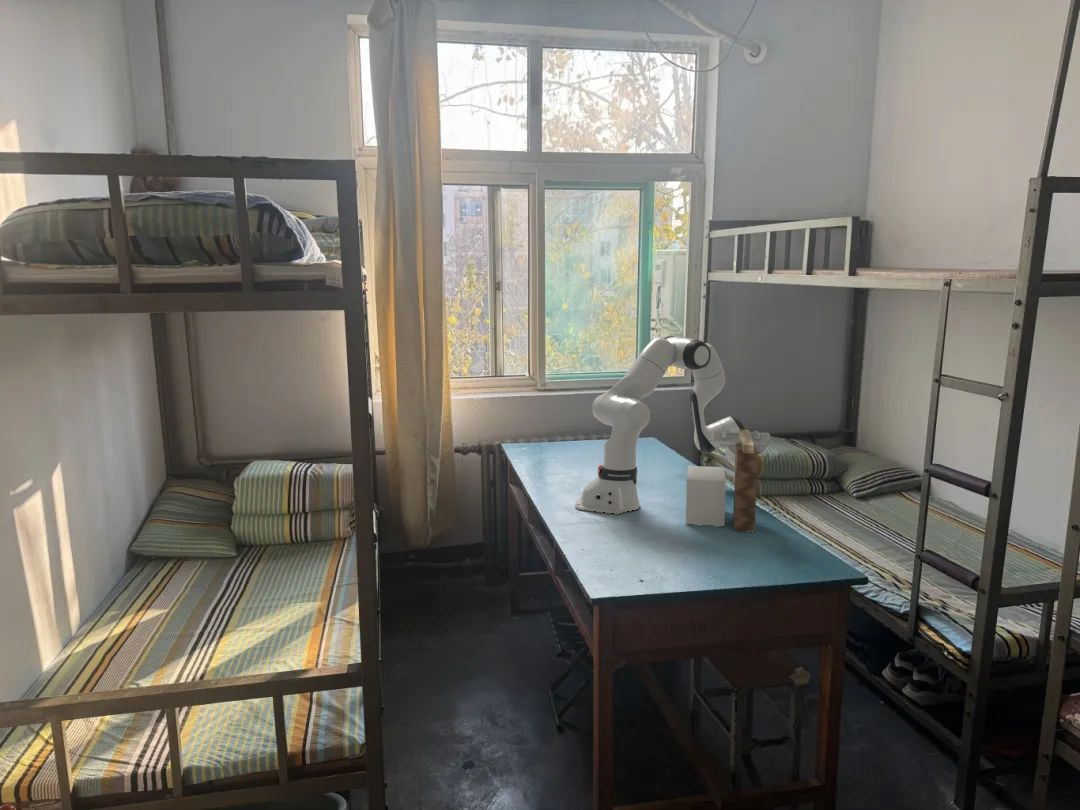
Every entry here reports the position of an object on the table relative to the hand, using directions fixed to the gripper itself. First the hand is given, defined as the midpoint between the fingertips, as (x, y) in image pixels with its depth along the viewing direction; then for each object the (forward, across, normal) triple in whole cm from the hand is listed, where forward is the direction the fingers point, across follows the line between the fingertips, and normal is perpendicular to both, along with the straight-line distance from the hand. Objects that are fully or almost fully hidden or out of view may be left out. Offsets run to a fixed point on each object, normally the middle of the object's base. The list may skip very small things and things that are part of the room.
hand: (741, 432), depth 253 cm
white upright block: (+4, -12, +31) cm, 34 cm away
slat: (+21, 0, +11) cm, 24 cm away
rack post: (+11, 0, +35) cm, 37 cm away
